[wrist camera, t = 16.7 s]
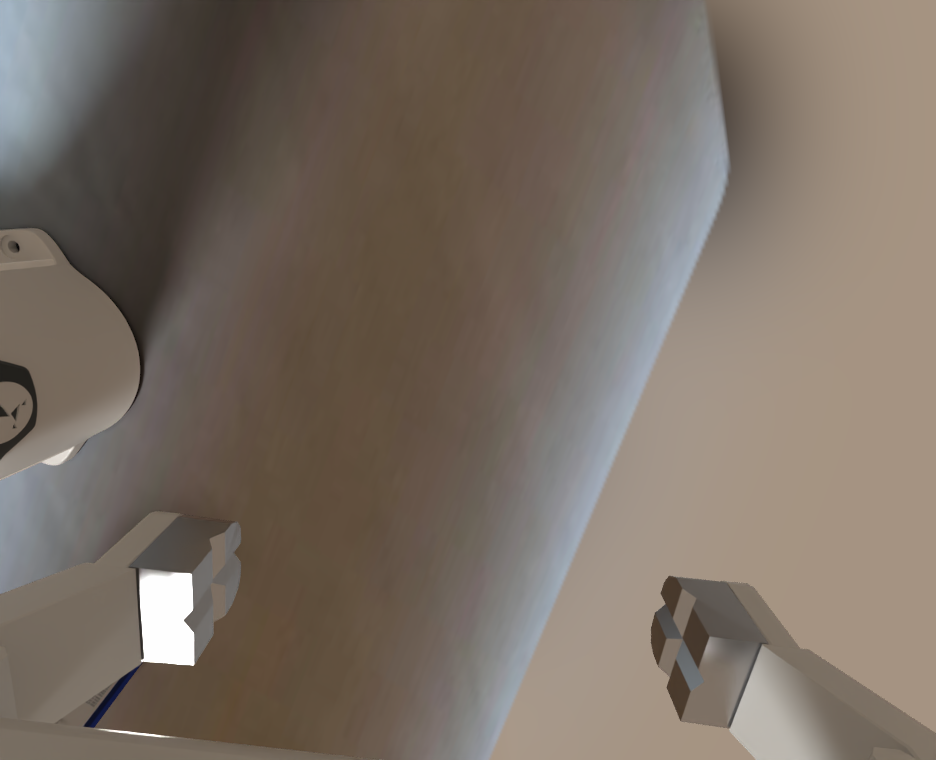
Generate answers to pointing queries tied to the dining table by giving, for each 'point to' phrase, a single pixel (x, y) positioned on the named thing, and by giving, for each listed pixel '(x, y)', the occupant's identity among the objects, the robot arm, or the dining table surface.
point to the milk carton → (96, 704)
